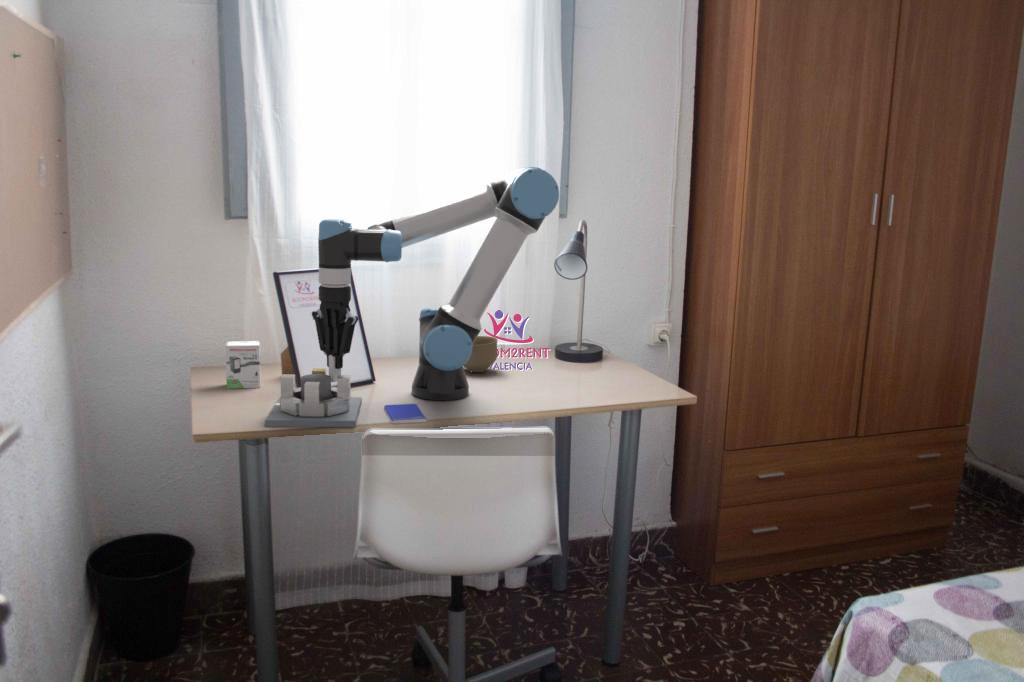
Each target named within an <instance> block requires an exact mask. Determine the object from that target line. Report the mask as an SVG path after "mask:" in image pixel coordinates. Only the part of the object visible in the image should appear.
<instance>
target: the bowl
mask: <svg viewBox="0 0 1024 682" xmlns="http://www.w3.org/2000/svg"><path fill="white" fill-rule="evenodd" d="M497 358H498V338H497V337H494V336H486V335H485V336H484V335H478V336H477V338H476V340H475V342H474V343H473V349H472V353H471V356H470V358H469V360H468V361H467V362H466V363H465V364H464V365H463V368H465V369H467V370H468V371H469V372H470V371H472V372H481V373H484V371H485V372H486V371H487V369H488V368H491V366H492V365H493V364H494V363H495V362H496V360H497ZM472 372H471V373H472Z"/></svg>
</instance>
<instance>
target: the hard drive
mask: <svg viewBox="0 0 1024 682" xmlns="http://www.w3.org/2000/svg"><path fill="white" fill-rule="evenodd" d="M383 407H384V408H383V409H384V412H385V413H386V415H387V416H388V419H389V420H390V422H391V423H392V425H395V424H409V423H410V424H411V423H412V424H413V423H427V417H426V415H425V414H424V413H423V411H422V410H421V408H420V407H419V406H418V404H416V403H407V404H406V403H403V404H402V403H401V404H385V405H384V406H383Z"/></svg>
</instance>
